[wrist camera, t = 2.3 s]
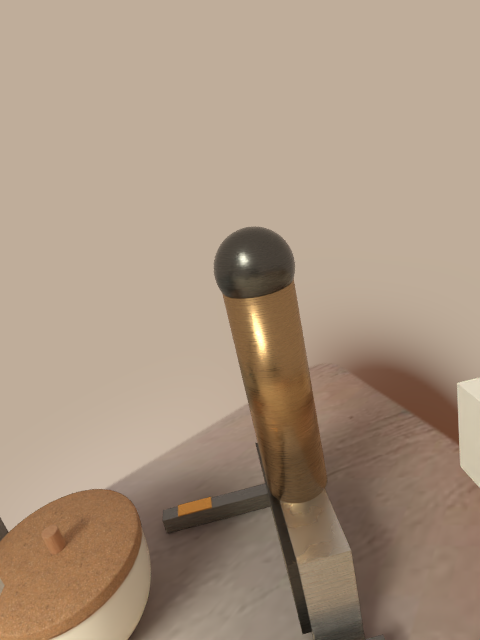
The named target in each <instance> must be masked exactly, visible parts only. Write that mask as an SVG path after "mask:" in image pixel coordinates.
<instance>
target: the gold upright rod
mask: <svg viewBox="0 0 480 640" xmlns="http://www.w3.org/2000/svg"><path fill="white" fill-rule="evenodd" d="M294 273H295V262H294V257H293V254H292V251H291V249H290V247H289V245H288V244H287V243H286V241H285V240H284V239H283V238H282V237H281V236H280V235H278V234H277V233H275V232H273V231H272V230H269V229H266V228H262V227H247V228H243V229H240V230H237V231H236V232H234V233H232V234H231V235H229V236H228V237H227V238H226V239H225V240H224V241H223V242H222V244H221V245H220V247H219V249H218V251H217V253H216V256H215V260H214V275H215V279H216V282H217V285H218V287H219V288H220V290H221V292H222V293H223V298H224V302H225V306H226V310H227V315H228V319H229V323H230V327H231V331H232V336H233V340H234V344H235V348H236V353H237V357H238V361H239V365H240V370H241V374H242V378H243V382H244V386H245V391H246V395H247V399H248V403H249V408H250V412H251V416H252V420H253V425H254V429H255V433H256V437H257V441H258V443H256V447H257V451H258V455H259V460H260V464H261V468H262V472H263V476H264V480H265V485H266V489H267V493H268V497H269V501H270V505H271V509H272V513H273V517H274V521H275V525H276V529H277V533H278V537H279V541H280V545H281V549H282V553H283V557H284V561H285V565H286V569H287V573H288V577H289V581H290V585H291V589H292V593H293V597H294V601H295V605H296V609H297V613H298V617H299V621H300V625H301V629H302V633H303V634H305V633H309V632H312V635H313V639H314V640H365V637H364V631H363V624H362V618H361V611H360V605H359V598H358V592H357V585H356V579H355V572H354V565H353V559H352V552H351V549H350V546H349V544H348V542H347V539H346V537H345V535H344V533H343V530H342V528H341V526H340V523H339V521H338V519H337V516H336V514H335V512H334V509H333V507H332V505H331V502H330V500H329V498H328V495H327V493H326V491H325V486H326V483H327V475H326V469H325V463H324V457H323V451H322V445H321V439H320V433H319V427H318V421H317V415H316V409H315V403H314V397H313V392H312V386H311V380H310V374H309V368H308V362H307V356H306V350H305V344H304V338H303V332H302V326H301V321H300V314H299V308H298V302H297V296H296V290H295V284H294Z"/></svg>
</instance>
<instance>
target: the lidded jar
mask: <svg viewBox="0 0 480 640" xmlns="http://www.w3.org/2000/svg"><path fill="white" fill-rule="evenodd" d="M0 579H1V580H2V582H3V584H4V585H5V586H4V588H3V590H2V592H1V595H0V640H128V638H129V637H130V636H131V634H132V633H133V631H134V630H135V628H136V626H137V624H138V622H139V621H140V619H141V616H142V614H143V611H144V608H145V606H146V603H147V600H148V595H149V590H150V582H151V566H150V556H149V551H148V546H147V542H146V539H145V536H144V533H143V530H142V527H141V522H140V518H139V515H138V513H137V510H136V508H135V506H134V505H133V503H132V502H131V501H130V500H129V499H128V498H127V497H126V496H124V495H122V494H120V493H118V492H115V491H111V490H104V489H92V490H85V491H81V492H76V493H72V494H70V495H67V496H64V497H61V498H60V499H57V500H55V501H53V502H51V503H49V504H47V505H45V506H43V507H42V508H40V509H38V510H37V511H35V512H34V513H32V514H31V515H29V516H28V517H27V518H25V519H24V520H23V521H21V522H20V523H19V524H18V525H17V526H15V527H14V528H13V529H12V530H11V531H10V532H9V533H8V534H7V535H6V536H5V537H4V538H3V539H2V540H1V541H0Z"/></svg>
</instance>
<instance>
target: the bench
mask: <svg viewBox="0 0 480 640" xmlns="http://www.w3.org/2000/svg"><path fill="white" fill-rule="evenodd" d="M270 506H271V505H270V501H269V497H268V493H267V489H266V485H265V484H262V485H259V486H255V487H251V488H247V489H243V490H239V491H235V492H232V493H228V494H224V495H220V496H216V497H212V498H211V497H208V498H204V499H200V500H197V501H193V502H189V503H185V504H181V505H178V507H174V508H170V509H166V510H163V523H164V526H165V529H166V531H167V533H170V532H174V531H178V530H182V529H186V528H190V527H193V526H197V525H201V524H205V523H209V522H212V521H216V520H220V519H224V518H228V517H232V516H235V515H239V514H243V513H247V512H251V511H255V510H258V509H262V508H266V507H270ZM8 533H9V532H8V531H7V529H6V527H5V525H4V523H3V522H2V520H1V518H0V541H1V540H2V539H3V538H4V537H5V536H6V535H7V534H8ZM365 640H385V638H384V636H383V635H379V636H376V637H372V638H368V639H365Z"/></svg>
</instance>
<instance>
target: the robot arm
mask: <svg viewBox="0 0 480 640" xmlns="http://www.w3.org/2000/svg"><path fill="white" fill-rule="evenodd" d="M457 395H458V421H459V447H460V467H461V468H462V469H463V470H464V471H465V472H466V473H467V474H468V476H469V477H470V478H471V479H472V480H473V481H474V482H475V483H476V484H477V486H478V487H479V488H480V377H479V378H475V379H471V380H467V381H463V382H459V383H457ZM4 586H5V585H4V584H3V582H2V580H1V579H0V595H1V592H2V590H3V588H4Z"/></svg>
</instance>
